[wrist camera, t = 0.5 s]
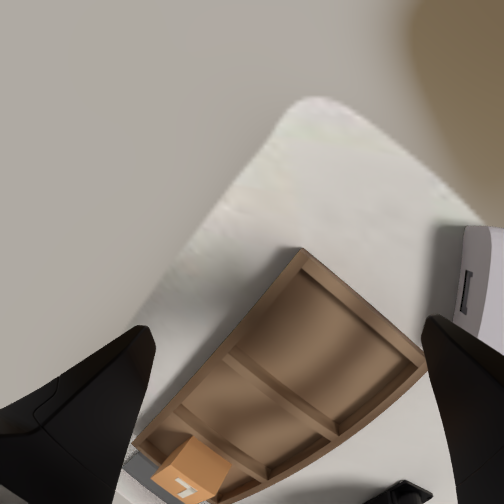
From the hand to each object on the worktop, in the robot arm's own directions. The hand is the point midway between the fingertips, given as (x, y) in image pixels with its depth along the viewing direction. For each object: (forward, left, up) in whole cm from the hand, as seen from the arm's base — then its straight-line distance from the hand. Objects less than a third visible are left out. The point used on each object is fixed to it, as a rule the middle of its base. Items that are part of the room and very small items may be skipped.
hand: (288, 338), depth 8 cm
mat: (-5, +34, -12) cm, 37 cm away
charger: (-16, -11, -13) cm, 23 cm away
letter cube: (-5, +22, -12) cm, 25 cm away
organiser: (-5, +13, -12) cm, 19 cm away
